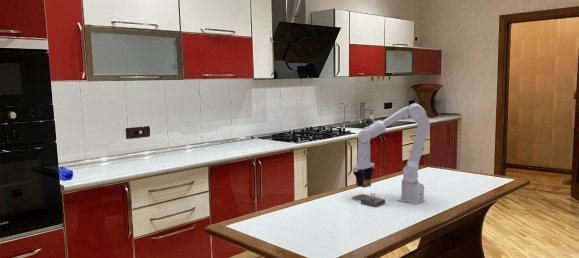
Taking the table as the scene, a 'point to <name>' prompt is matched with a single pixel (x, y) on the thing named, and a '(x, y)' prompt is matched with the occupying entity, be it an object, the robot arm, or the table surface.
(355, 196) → the mat
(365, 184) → the brown wooden box
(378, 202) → the vise block
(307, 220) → the table surface
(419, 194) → the robot arm
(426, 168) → the table surface
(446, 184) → the table surface
